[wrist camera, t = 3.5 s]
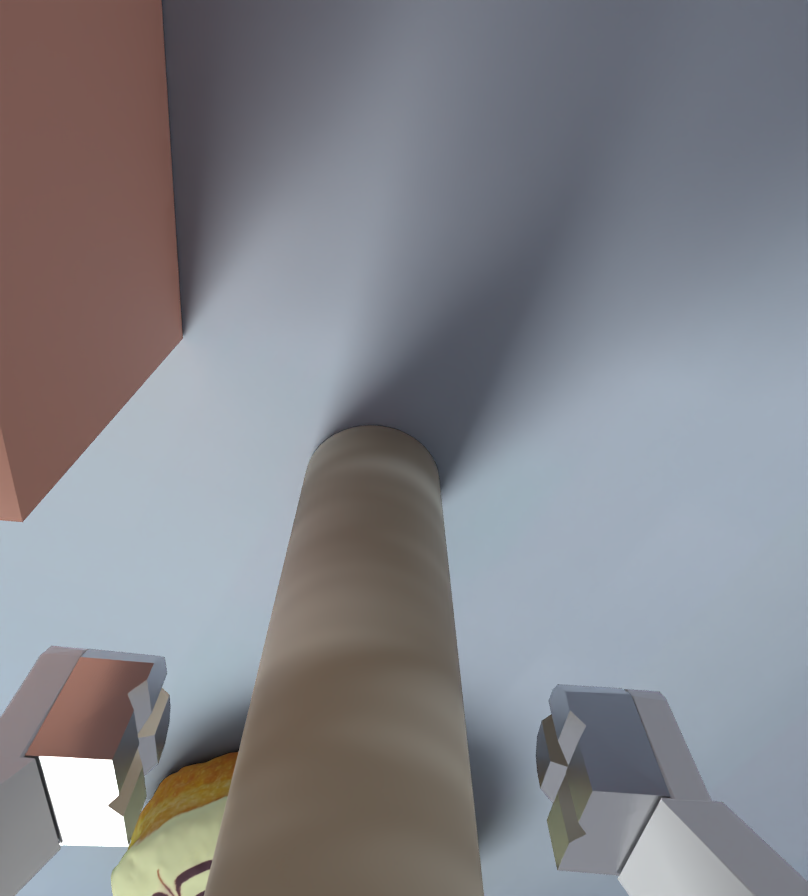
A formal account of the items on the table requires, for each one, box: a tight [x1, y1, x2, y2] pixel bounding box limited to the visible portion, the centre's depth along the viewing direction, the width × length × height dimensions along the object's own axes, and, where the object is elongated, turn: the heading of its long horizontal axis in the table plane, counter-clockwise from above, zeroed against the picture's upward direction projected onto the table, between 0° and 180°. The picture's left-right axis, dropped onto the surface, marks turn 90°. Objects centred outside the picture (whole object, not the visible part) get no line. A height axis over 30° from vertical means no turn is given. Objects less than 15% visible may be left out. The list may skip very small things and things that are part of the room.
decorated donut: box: [111, 752, 238, 896], centre depth 19 cm, size 10×11×4 cm
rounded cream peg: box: [204, 425, 484, 896], centre depth 9 cm, size 3×3×12 cm
